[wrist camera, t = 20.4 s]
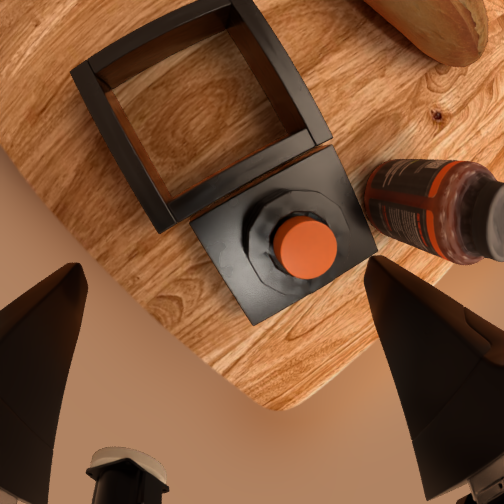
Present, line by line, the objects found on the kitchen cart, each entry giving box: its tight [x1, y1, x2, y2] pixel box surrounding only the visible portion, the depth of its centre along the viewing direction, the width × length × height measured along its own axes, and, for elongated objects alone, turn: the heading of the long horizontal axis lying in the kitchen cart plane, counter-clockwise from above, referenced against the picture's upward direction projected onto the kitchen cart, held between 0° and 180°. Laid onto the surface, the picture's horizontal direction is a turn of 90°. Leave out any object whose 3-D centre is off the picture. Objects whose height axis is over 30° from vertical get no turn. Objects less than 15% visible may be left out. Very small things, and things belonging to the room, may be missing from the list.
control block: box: [189, 144, 378, 326], centre depth 20 cm, size 10×8×4 cm
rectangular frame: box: [70, 0, 333, 234], centre depth 17 cm, size 11×11×4 cm
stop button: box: [273, 216, 337, 279], centre depth 18 cm, size 3×3×2 cm
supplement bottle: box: [364, 159, 504, 265], centre depth 17 cm, size 6×6×11 cm
